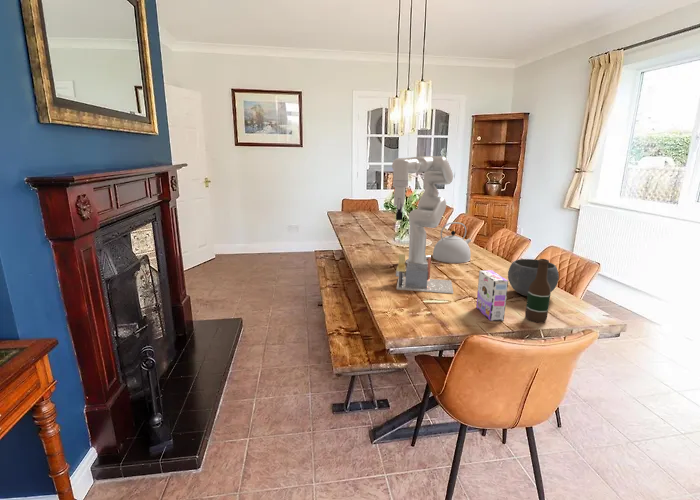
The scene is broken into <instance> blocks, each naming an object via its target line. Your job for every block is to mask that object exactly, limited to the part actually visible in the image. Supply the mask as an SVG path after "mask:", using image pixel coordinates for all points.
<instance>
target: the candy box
mask: <svg viewBox="0 0 700 500" xmlns="http://www.w3.org/2000/svg"><path fill="white" fill-rule="evenodd" d="M478 272H479V273H478V281H477V282H478V285H477V296H476V309H477V310H478V311H479V312H480V313H481V314H482V315H484V317H486V319H488V320H489V321H490V322H491V321H493V322H495V321H496V322H497V321H498V322H499V321H501V322H502V321H504V320H505V314H506V313H505V312H506V306H507V305H506V304H507V296H508V288H509V280H508V279H506V278H505V277H503V276H501V275H500V274H498V273H497V272H495V271H494V270H493V269H492V270H490V269H489V270H488V269H487V270H486V269H485V270H479V271H478Z"/></svg>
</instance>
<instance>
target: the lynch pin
mask: <svg viewBox="0 0 700 500" xmlns="http://www.w3.org/2000/svg"><path fill="white" fill-rule="evenodd" d="M431 262H432V258H431V257H428V259H427V264H428V276H427V281H430V279H431V278H430V277H431V264H432V263H431ZM399 272H402V271H397V269H396V270H395V277H398V278H399ZM402 277H406V270H405V272H402Z"/></svg>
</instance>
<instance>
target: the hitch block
mask: <svg viewBox="0 0 700 500" xmlns="http://www.w3.org/2000/svg"><path fill="white" fill-rule="evenodd" d="M405 271H406V277H402V272H399V277H398V279H397V284H396V290H397V291H415V292H425V293H426V292H428V293H439V294H441V293H442V294H454V289H453V283H452V280H450V279H448V280H447V279H436V278H435V279H433V278H430V281H427V276H428V263H427V264H414V263H406V269H405Z"/></svg>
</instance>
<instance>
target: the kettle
mask: <svg viewBox="0 0 700 500" xmlns="http://www.w3.org/2000/svg"><path fill="white" fill-rule="evenodd" d="M453 224H454V225H455V224H456V225H462V226H463V227H464V234H463V237H459V236H458V235H456V231H455V230H452V231H451V232H450V234H451V235H446V236H444V237H443V231H444V229H445V228H446V227H447V226H448V225H453ZM466 235H467V227H466V225H465V224H464V223H462V222H459V221H457V222H456V221H452V222H448V223H446V224H444V226H443V227H442V228H441V230H440V239H439V240H438V241H437V242H436V244H435V245H434V247H433V250H432V259H434V260H436V261H438V262H443V263H447V264H449V263H450V264H451V263H452V264H462V263H468V262H470V261H471V254H472V253H471V249H470V246H469V244H470V242H472V239H471V238H467V239H465V237H466ZM464 239H465V240H464Z"/></svg>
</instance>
